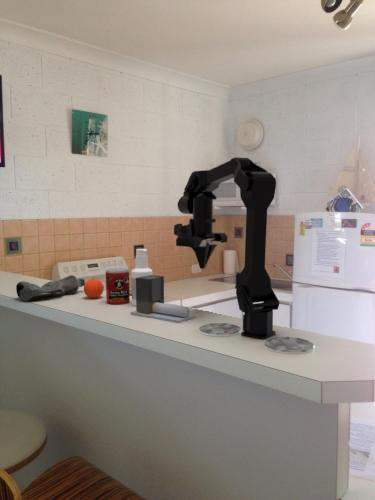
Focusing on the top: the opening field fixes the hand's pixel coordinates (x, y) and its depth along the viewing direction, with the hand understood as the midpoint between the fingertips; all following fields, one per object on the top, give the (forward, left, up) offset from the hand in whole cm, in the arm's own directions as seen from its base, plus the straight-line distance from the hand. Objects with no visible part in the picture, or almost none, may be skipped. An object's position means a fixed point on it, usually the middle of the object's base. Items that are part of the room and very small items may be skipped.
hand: (202, 268), depth 136 cm
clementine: (+44, +2, -14) cm, 46 cm away
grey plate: (+8, +9, -13) cm, 18 cm away
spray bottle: (+23, +1, -14) cm, 27 cm away
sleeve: (+13, +9, -13) cm, 21 cm away
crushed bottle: (+59, +8, -14) cm, 61 cm away
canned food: (+32, +3, -14) cm, 35 cm away
